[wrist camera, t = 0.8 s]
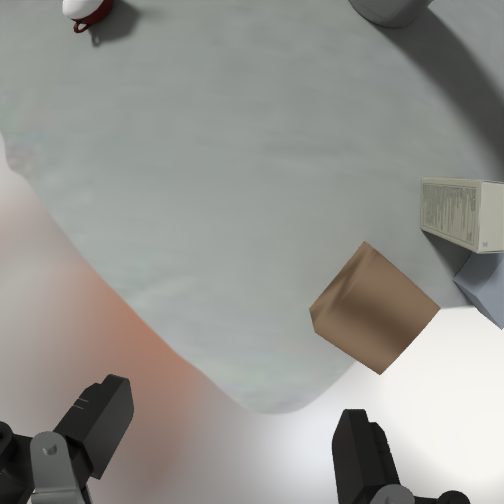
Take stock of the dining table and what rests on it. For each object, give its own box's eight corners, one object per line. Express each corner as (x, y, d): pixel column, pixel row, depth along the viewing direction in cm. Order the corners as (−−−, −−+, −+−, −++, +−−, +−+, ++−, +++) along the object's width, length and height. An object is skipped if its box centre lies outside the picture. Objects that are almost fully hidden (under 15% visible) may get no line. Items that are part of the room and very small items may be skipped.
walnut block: (363, 240, 34) (380, 254, 28) (419, 288, 35) (440, 308, 29) (308, 307, 36) (314, 332, 30) (367, 348, 37) (380, 375, 31)
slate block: (486, 231, 32) (513, 242, 26) (510, 267, 33) (535, 280, 27) (452, 279, 34) (476, 296, 28) (479, 311, 35) (501, 329, 29)
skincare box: (448, 229, 32) (510, 255, 21) (418, 229, 33) (476, 256, 21) (450, 177, 31) (515, 183, 19) (419, 174, 31) (481, 179, 19)
